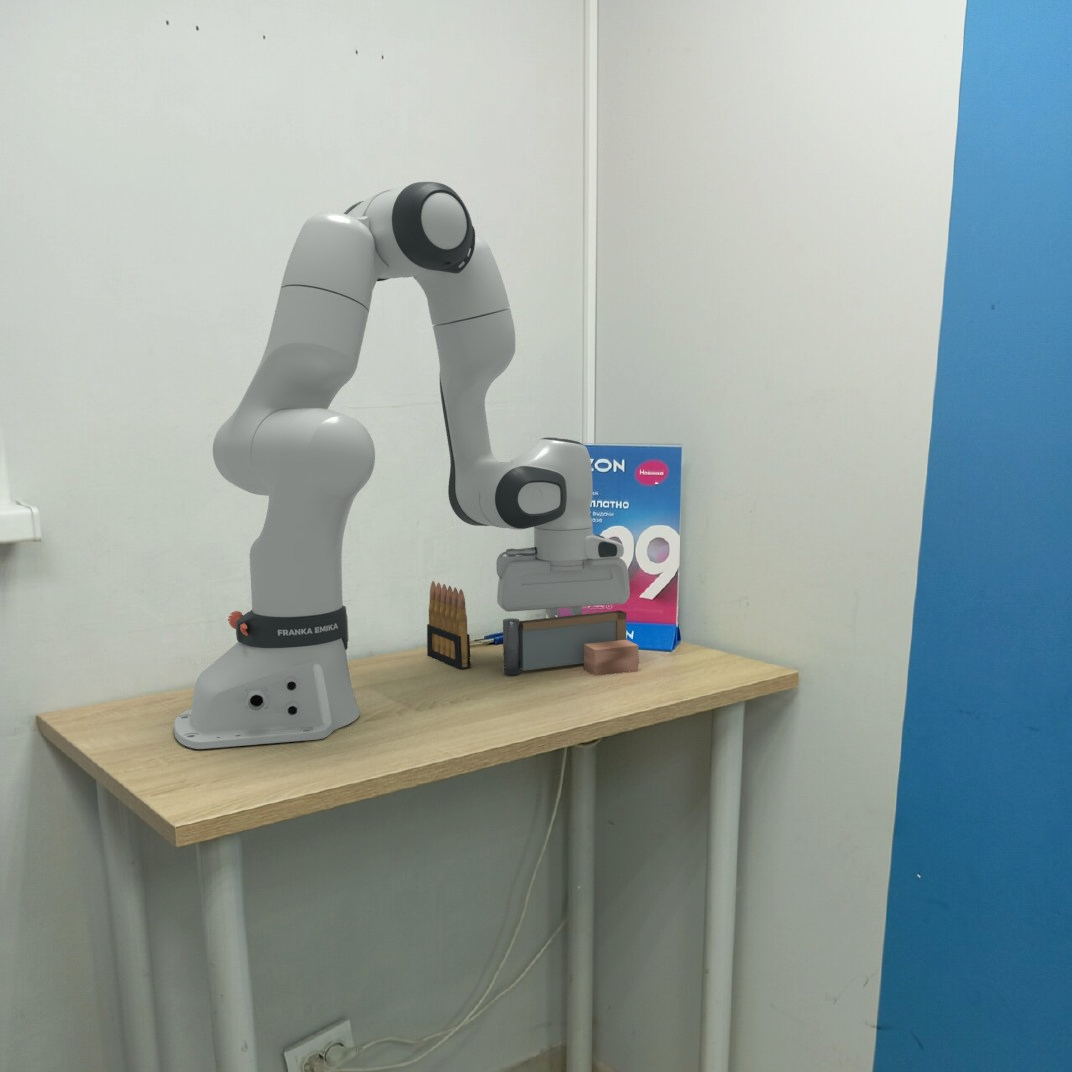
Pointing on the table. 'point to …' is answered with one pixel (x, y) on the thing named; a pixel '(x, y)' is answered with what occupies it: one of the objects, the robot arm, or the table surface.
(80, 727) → the table surface
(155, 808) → the table surface
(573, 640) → the gate
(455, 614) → the ammunition clip
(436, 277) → the robot arm
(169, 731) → the table surface
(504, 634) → the hinge post
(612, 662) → the block
